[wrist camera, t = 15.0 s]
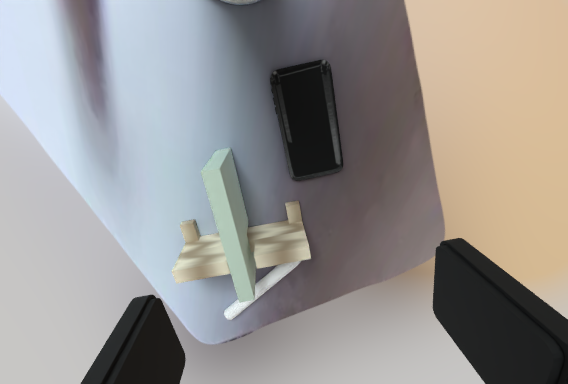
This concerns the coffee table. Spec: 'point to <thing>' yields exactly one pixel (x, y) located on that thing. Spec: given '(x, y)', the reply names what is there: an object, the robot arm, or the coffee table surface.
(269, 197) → the coffee table surface
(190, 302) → the coffee table surface
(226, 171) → the mint green slab
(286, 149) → the phone
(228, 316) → the marker
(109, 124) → the coffee table surface
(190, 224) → the slotted wooden stand
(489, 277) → the robot arm
